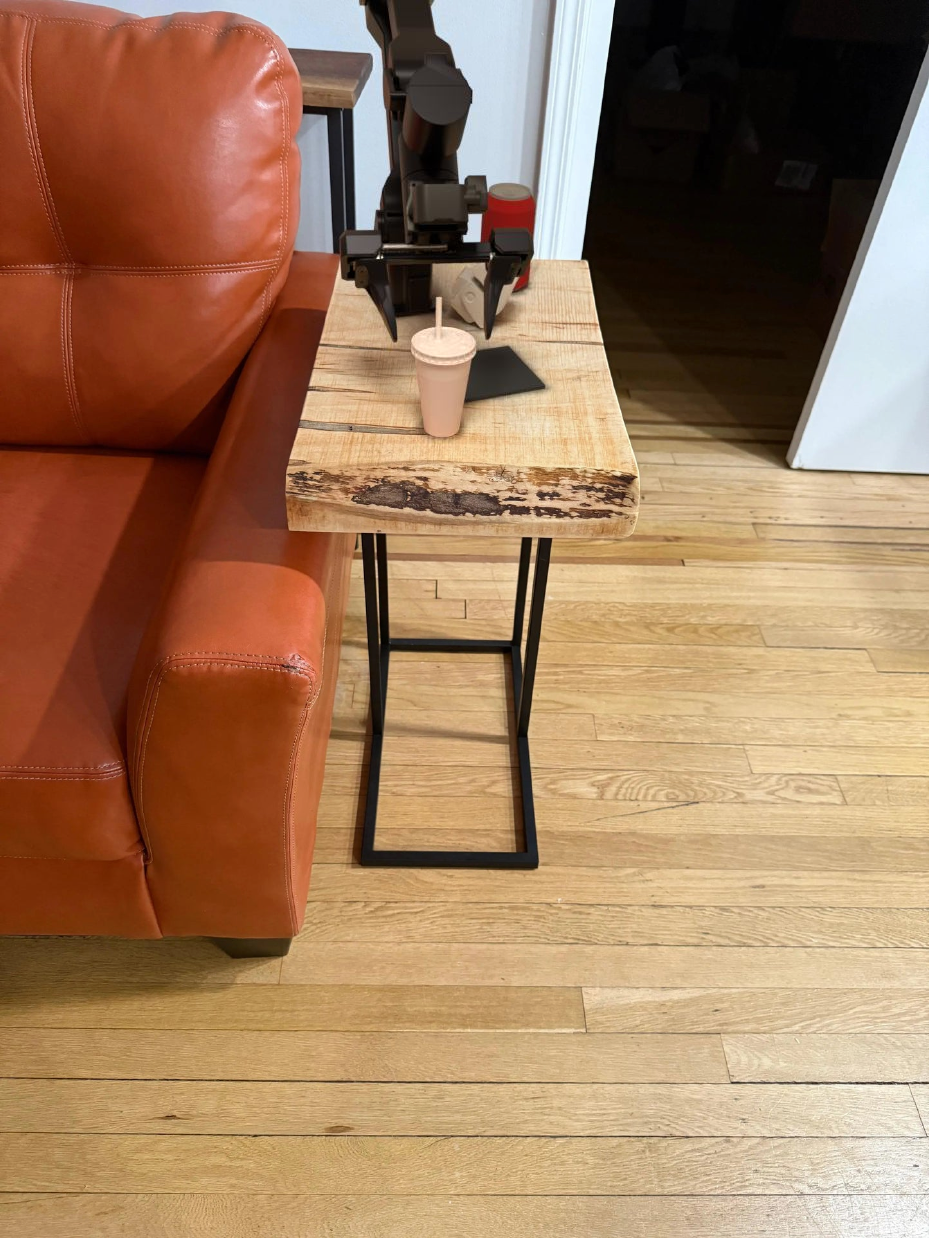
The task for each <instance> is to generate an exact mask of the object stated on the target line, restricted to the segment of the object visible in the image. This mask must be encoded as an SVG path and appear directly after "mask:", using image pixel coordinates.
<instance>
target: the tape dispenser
mask: <svg viewBox="0 0 929 1238" xmlns="http://www.w3.org/2000/svg"><path fill="white" fill-rule="evenodd" d="M486 274H487V271H486V269H485V263H475V265H474V266H473V267H470V266H468V265H465V266H464V268H463V269H462V270H461V271H460V272H459V274H458V276H457V278H456V279H455V281H454V283H453V284H452V286H451V292H452V294H453V295H452V298H451V300H450V302H449V305H450V306H451V307H452V308H453V309H454V311H456V312H457V314H458V315H459V316H461V317H462V318H463V320H464V321H466V322H467V323H469V324H472V323H476V325H477V326H478V327H479V328H480V329H484V279H485V277H486ZM518 279H519V277H515V279H514V281H513V283H512V284H510V285H504V286H503V289H502V292H501V295H500V299H499V303H498V307H497V312H496V316H498V315H499V314H500V313H501V312H502V311H503V310H504V308H505V307H506V305H507V303H508V302H509V299H510V297H511V295H512V293H513V292H514V291H513V289H514V287H515V285H516V283H517V281H518Z"/></svg>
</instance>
